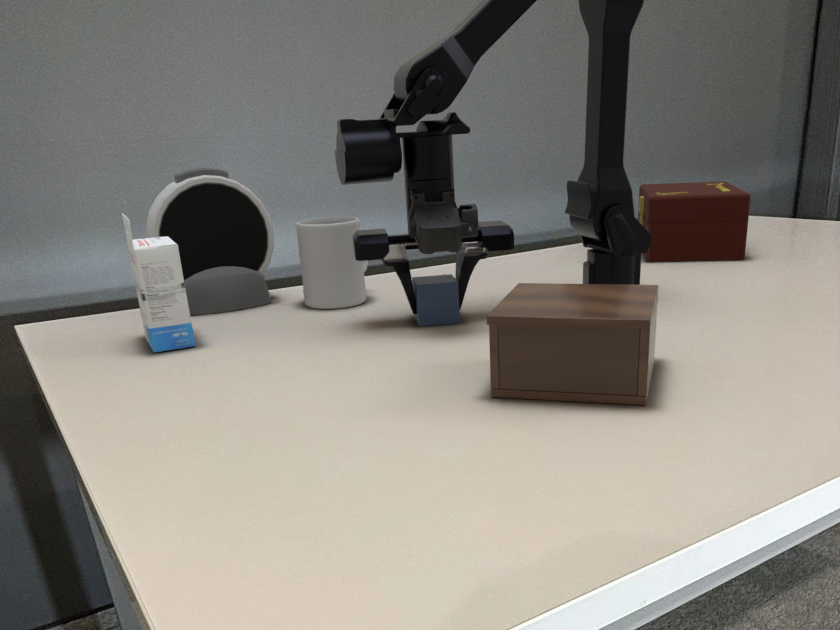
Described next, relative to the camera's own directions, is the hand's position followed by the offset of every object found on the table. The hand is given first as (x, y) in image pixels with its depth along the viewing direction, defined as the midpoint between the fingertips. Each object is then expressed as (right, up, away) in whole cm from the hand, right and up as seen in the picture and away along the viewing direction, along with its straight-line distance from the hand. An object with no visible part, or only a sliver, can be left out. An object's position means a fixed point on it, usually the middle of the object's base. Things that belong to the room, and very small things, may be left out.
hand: (436, 311), depth 98 cm
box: (+41, +17, +37) cm, 58 cm away
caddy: (+14, -10, -23) cm, 28 cm away
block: (0, -1, 0) cm, 1 cm away
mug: (-13, +4, +14) cm, 19 cm away
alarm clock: (-30, +3, +14) cm, 34 cm away
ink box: (-32, -4, -3) cm, 32 cm away
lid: (+13, -4, -26) cm, 29 cm away
